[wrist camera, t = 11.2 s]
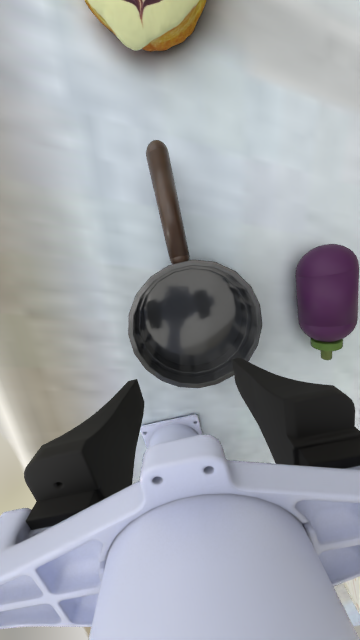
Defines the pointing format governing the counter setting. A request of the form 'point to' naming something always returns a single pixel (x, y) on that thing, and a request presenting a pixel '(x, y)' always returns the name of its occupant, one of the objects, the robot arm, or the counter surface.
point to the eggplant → (327, 296)
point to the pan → (194, 323)
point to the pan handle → (167, 201)
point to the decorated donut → (148, 21)
